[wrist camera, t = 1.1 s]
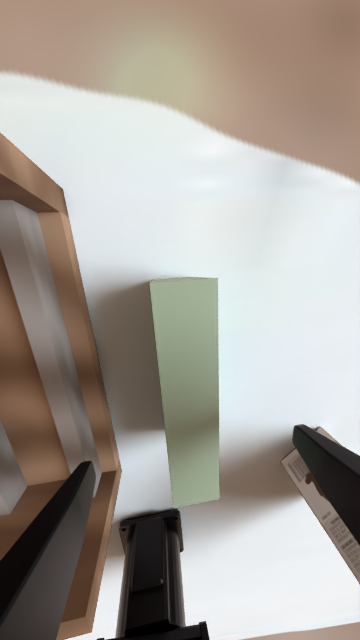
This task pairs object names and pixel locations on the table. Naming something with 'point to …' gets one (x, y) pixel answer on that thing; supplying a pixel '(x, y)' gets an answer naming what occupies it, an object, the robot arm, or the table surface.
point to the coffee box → (323, 508)
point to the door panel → (189, 383)
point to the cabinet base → (49, 377)
